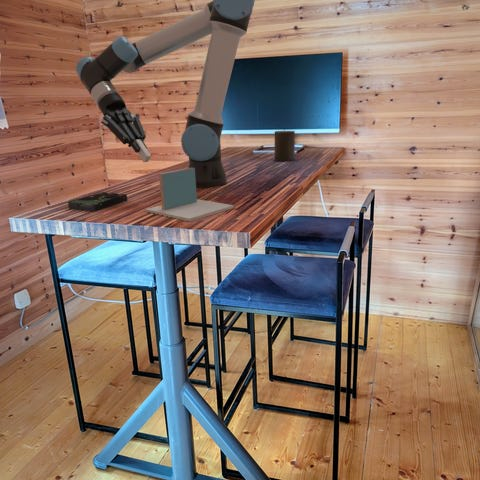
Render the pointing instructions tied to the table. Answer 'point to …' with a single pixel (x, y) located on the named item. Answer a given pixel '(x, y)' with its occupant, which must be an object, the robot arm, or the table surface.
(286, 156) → the pillar candle
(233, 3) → the robot arm
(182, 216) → the mat
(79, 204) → the disk drive
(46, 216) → the table surface
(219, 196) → the table surface
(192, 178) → the tile
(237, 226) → the table surface
